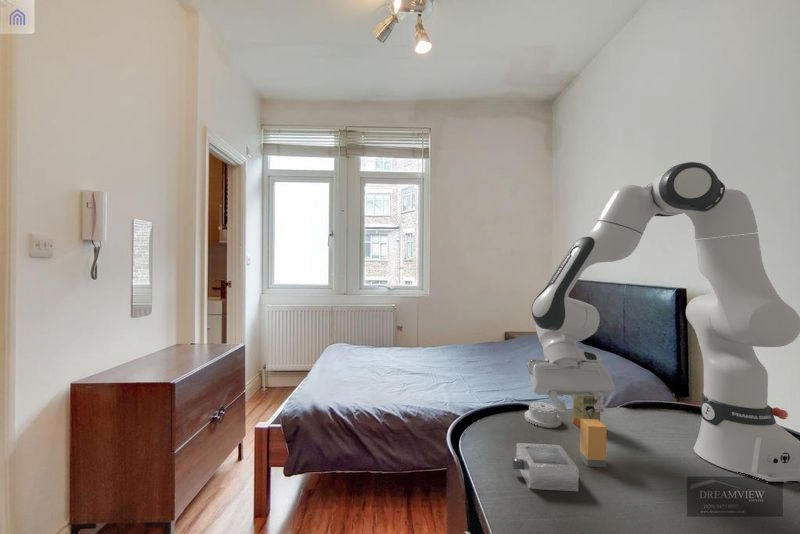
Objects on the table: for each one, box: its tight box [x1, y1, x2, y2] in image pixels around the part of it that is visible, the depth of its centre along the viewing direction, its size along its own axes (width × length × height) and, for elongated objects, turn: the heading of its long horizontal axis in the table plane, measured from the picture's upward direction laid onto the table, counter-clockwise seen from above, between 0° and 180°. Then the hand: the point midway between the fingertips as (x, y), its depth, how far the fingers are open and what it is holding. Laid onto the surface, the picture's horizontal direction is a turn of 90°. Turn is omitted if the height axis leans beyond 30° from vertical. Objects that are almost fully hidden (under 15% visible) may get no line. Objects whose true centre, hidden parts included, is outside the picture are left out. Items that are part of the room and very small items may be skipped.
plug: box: [579, 419, 608, 468], centre depth 83 cm, size 4×4×9 cm
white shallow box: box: [511, 442, 580, 492], centre depth 77 cm, size 12×10×4 cm
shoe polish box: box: [572, 395, 601, 429], centre depth 101 cm, size 5×5×12 cm
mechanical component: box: [524, 401, 562, 429], centre depth 105 cm, size 10×4×10 cm
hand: (581, 411), depth 88 cm, fingers open, 8 cm apart
